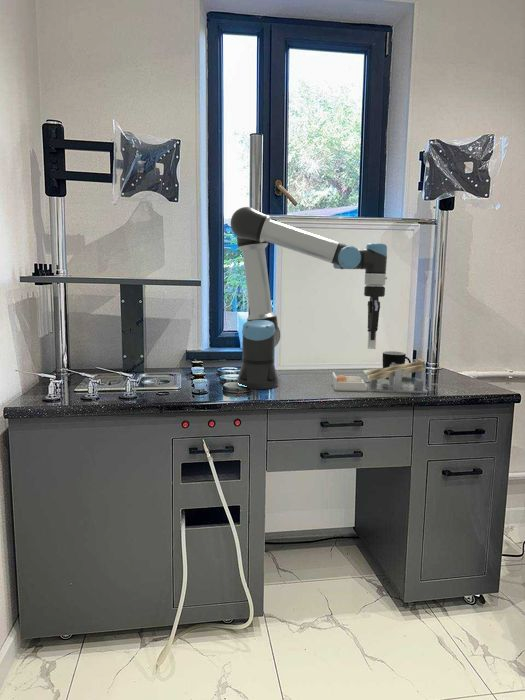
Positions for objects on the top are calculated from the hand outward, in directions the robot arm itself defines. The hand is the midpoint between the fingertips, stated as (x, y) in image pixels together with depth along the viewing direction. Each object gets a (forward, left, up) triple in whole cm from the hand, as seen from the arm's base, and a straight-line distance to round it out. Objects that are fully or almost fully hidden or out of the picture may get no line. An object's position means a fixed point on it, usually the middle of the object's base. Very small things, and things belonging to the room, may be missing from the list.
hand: (371, 348), depth 193 cm
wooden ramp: (+8, -5, -9) cm, 13 cm away
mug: (+13, +12, -14) cm, 22 cm away
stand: (+8, -9, -13) cm, 18 cm away
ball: (-12, -9, -11) cm, 18 cm away
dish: (-9, -9, -13) cm, 18 cm away
